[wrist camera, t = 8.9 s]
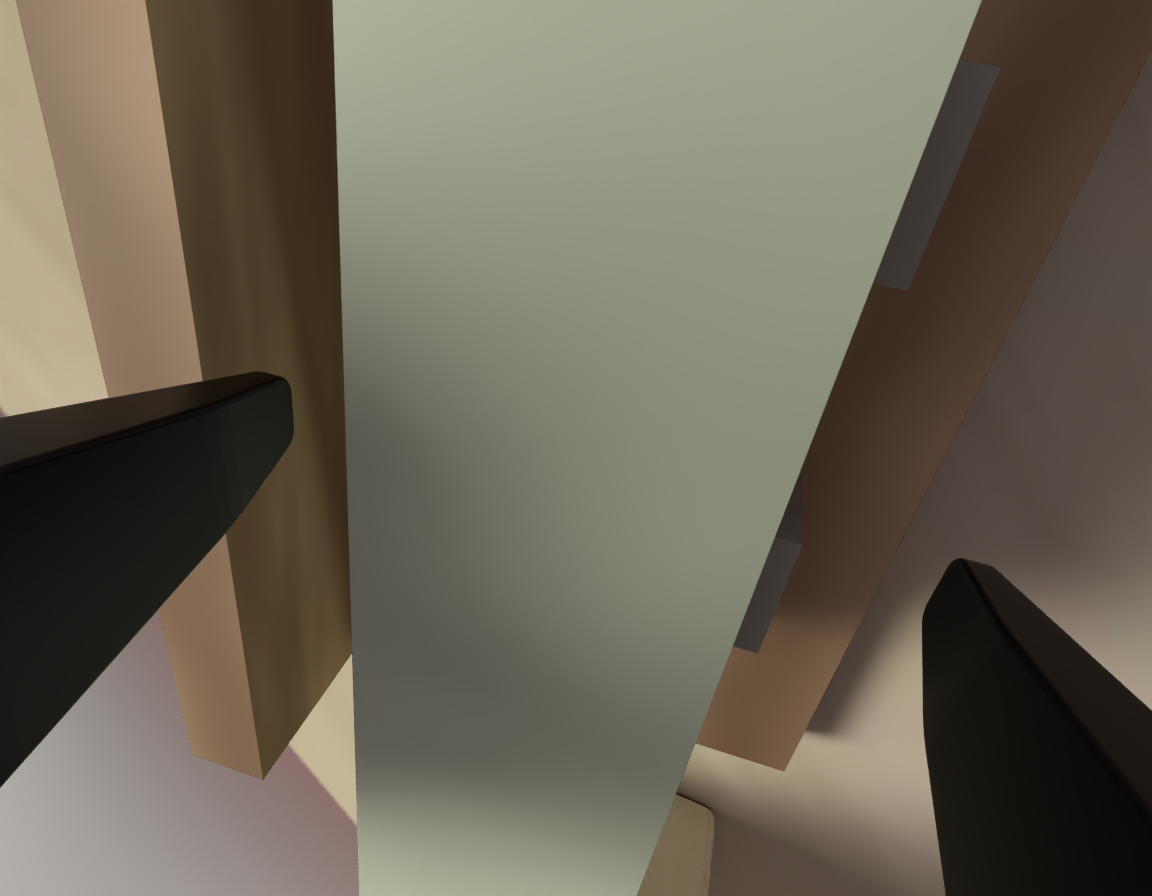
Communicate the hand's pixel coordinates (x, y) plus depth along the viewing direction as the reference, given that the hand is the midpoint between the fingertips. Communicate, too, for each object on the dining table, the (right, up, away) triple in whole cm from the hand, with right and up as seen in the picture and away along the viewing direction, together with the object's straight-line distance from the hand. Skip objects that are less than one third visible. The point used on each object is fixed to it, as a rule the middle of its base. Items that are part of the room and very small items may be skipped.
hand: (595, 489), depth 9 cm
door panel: (+2, +3, +5) cm, 6 cm away
